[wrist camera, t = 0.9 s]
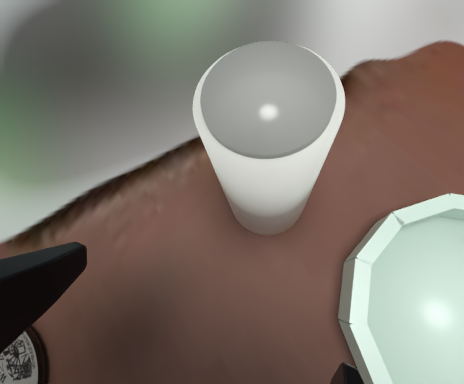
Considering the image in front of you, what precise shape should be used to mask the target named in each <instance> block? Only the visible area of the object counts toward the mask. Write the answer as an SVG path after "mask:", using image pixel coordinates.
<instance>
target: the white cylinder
mask: <svg viewBox="0 0 464 384" xmlns="http://www.w3.org/2000/svg"><path fill="white" fill-rule="evenodd" d="M344 110H345V95H344V90H343V86H342V83H341V81H340V79H339V77H338V75H337V74H336V72H335V70H334V69H333V68H332V67H331V66H330V64H329V63H327V61H325V60H324V59H323V58H322V57H320V56H319V55H318V54H316V53H314V52H313V51H311V50H309V49H307V48H304V47H302V46H299V45H296V44H291V43H287V42H279V41H262V42H256V43H252V44H248V45H245V46H242V47H240V48H237V49H235V50H233V51H231V52H229V53H227V54H225V55H224V56H222V57H221V58H220V59H218V60H217V61H216V62H215V63H214V64H212V66H211V67H210V68H209V69H208V70H207V71H206V72H205V74H204V75H203V77H202V78H201V80H200V82H199V84H198V86H197V88H196V91H195V95H194V99H193V116H194V121H195V125H196V127H197V130H198V132H199V135H200V137H201V139H202V142H203V144H204V146H205V149H206V151H207V153H208V156H209V158H210V160H211V163H212V165H213V167H214V170H215V172H216V174H217V177H218V179H219V181H220V184H221V186H222V188H223V191H224V193H225V195H226V198H227V200H228V202H229V205H230V207H231V209H232V212H233V214H234V216H235V218H236V219H237V221H238V222H239V223H240V224H241V225H242V226H243V227H244V228H246V229H247V230H249V231H251V232H253V233H256V234H259V235H275V234H279V233H282V232H284V231H286V230H288V229H289V228H291V227H292V226H293V225H294V224H295V223H296V222H297V220H298V219H299V217H300V216H301V214H302V211H303V209H304V207H305V204H306V202H307V200H308V198H309V195H310V193H311V191H312V188H313V186H314V184H315V182H316V179H317V177H318V175H319V172H320V170H321V168H322V166H323V163H324V161H325V159H326V156H327V154H328V152H329V150H330V147H331V145H332V143H333V140H334V138H335V136H336V134H337V131H338V129H339V127H340V124H341V122H342V119H343V115H344Z"/></svg>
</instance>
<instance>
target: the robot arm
mask: <svg viewBox="0 0 464 384" xmlns="http://www.w3.org/2000/svg"><path fill="white" fill-rule="evenodd" d="M86 265H87V248H86V246H85V245H82V244H80V243H78V242H72V243H67V244H63V245H59V246H55V247H50V248H46V249H42V250H38V251H33V252H29V253H25V254H21V255H17V256H12V257H8V258H4V259H0V354H1V353H2V352H3V351H4V350H5V349H6V348H7V347H9V346H10V345H11V344H12V343H13V342H14V341H15V340H16V339H17V338H18V337H19V336H20V335H21V334H22V333H24V332H25V331H26V330H27V329H28V328H29V327H30V326H31V325H32V324H33V323H34V322H35V321H36V320H37V319H38V318H40V317H41V316H42V315H43V314H44V313H45V312H46V311H47V310H48V309H49V308H50V307H51V306H52V305H53V304H54V303H55V302H56V301H57V300H58V299H59V298H60V297H61V295H62V294H63V293H64V292H65V291H66V290H67V289H68V288H69V286H70V285H71V284H72V283H73V282H74V281H75V280H76V279H77V278H78V276H79V275H80V274H81V273H82V272H83V271H84V269H85V268H86ZM330 384H365V383H364V381H363V379H362V377H361V375H360V373H359V371H358V369H357V368H356V367H354V366H351V365H349V364H347V363H345V362H343V363H341V364H340V366H339V367H338V369H337V371H336V372H335V374H334V376H333V378H332V380H331V383H330Z"/></svg>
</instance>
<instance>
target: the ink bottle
mask: <svg viewBox="0 0 464 384" xmlns="http://www.w3.org/2000/svg"><path fill="white" fill-rule="evenodd" d="M45 377H46V366H45V358H44V353H43V349H42V346H41V343H40V341H39V339H38V337H37V336H36V334H35V333H34V331H33V330H32V329H31V328H30V327H29V328H28V329H27V330H26V331H25V332H24V333H22V334H21V335H20V336H19V337H18V338H17V339H16V340H15V341H14V342H13V343H12V344H11V345H10V346H9V347H7V348H6V349H5V350H4V351H3V352H2V353H1V354H0V384H45Z"/></svg>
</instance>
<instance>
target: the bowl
mask: <svg viewBox="0 0 464 384" xmlns="http://www.w3.org/2000/svg"><path fill="white" fill-rule="evenodd" d="M344 262H345V263H344V266H343V275H342V284H341V294H340V303H339V312H338V319H340V320H338V321H339V324H340V326H341V329H342V331H343V334H344V336H345V339H346V341H347V344H348V346H349V349H350V351H351V354H352V356H353V359H354V361H355V364H356V366H357V369H358V371H359V373H360V375H361V377H362V379H363V381H364V383H365V384H464V195H457V194H451V193H450V194H446V195H443V196H439V197H436V198H433V199H430V200H427V201H424V202H421V203H418V204H415V205H412V206H409V207H406V208H403V209H400V210H397V211H394V212H392V213H390V214H389V215H387V216H385V217H384V218H382V219H381V220H379V221H378V222H376V223H375V224H374V225H373V227H372V228H371V229H370V230H369V232H368V233H367V234H366V235H365V237H364V238H363V239H362V240H361V242H360V243H359V244H358V245H357V246H356V248H355V249H354V250H353V251H352V253H351V254H350V255H349V256H348V258H347V259H346V260H345V261H344Z"/></svg>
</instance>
